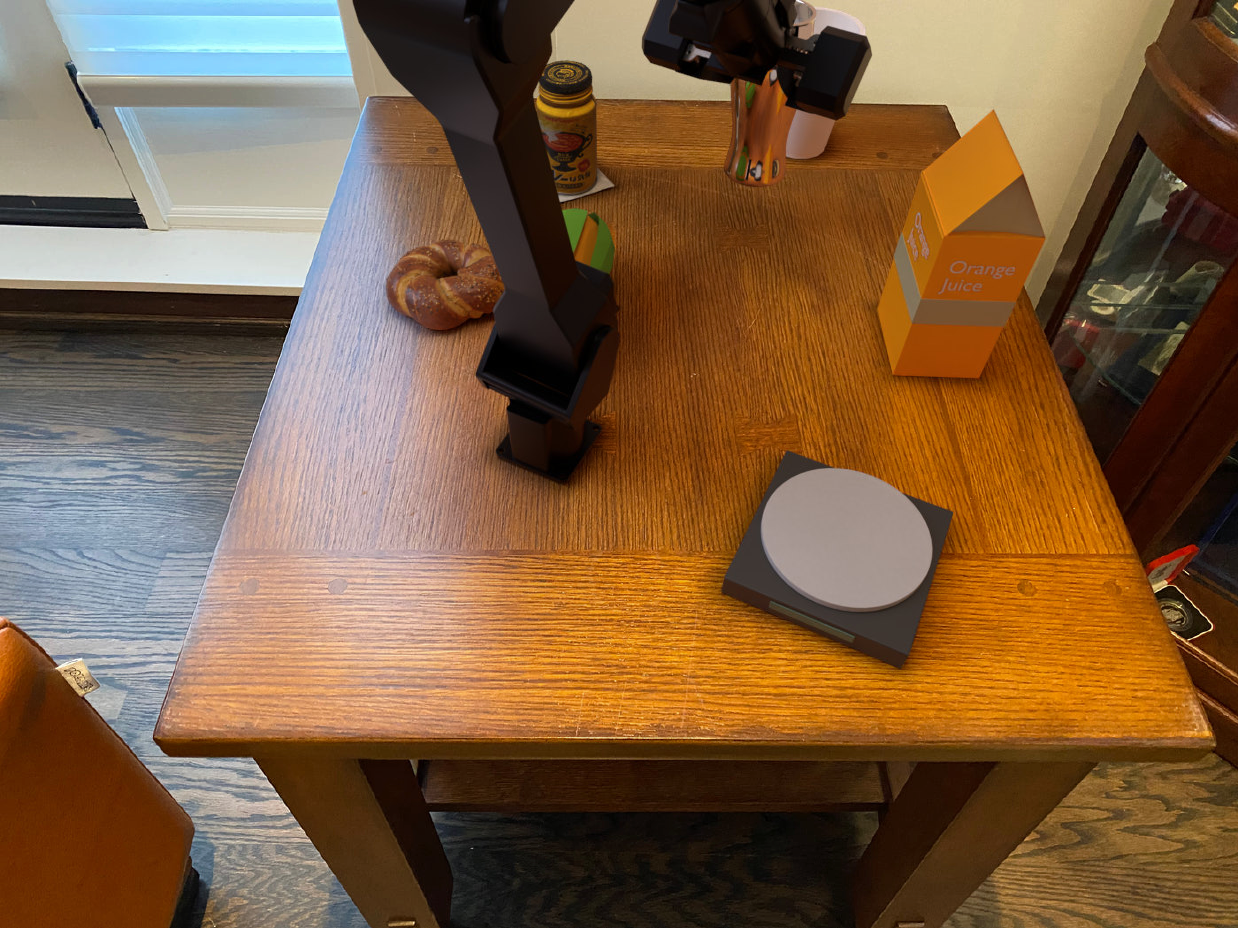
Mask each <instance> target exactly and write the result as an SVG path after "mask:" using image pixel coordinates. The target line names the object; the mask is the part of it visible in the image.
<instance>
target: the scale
mask: <svg viewBox="0 0 1238 928" xmlns="http://www.w3.org/2000/svg"><path fill="white" fill-rule="evenodd" d="M953 516H954V511H953V510H950V509H947V508H944V507H942V506H939V505H937V504H934V503H931V502H928V501H925V500H923V499H920V498H917V497H914V496H912V495H909V494H906V493H904V492H902V491H900V490H899V489H897V488H896V487H894V486H893V485H891V483H888V482H886V481H884V480H882V479H880V478H878V477H876V476H873V475H871V474H868V473H865V472H862V471H858V470H853V469H848V468H840V467H834V466H831V465H829V464H825V463H824V462H820V461H817V460H816V459H812V458H809V457H807V456H804V455H801V454H799V453H796V452H793V451H792V450H791V451H790V450H785V453H784V454H783V457H782V458H781V461H780V462H779V465H778V467H777V469H776V471H775V473H774V475H773V477H772V479H771V481H770V483H769V485H768V487H767V489H766V491H765V493H764V495H763V497H762V500H761V501H760V503H759V505H758V507H757V509H756V512H755V514H754V515H753V518H752V520H751V522H750V524H749V525H748V527H747V530H746V532H745V533H744V536H743V538H742V540H741V542H740V544H739V545H738V548H737V550H736V551H735V554H734V556H733V558H732V560H731V562H730V564H729V566H728V568H727V571H726V572H725V574H724V576H723V579H722V585H721V589H720V592H721V594H724V595H727V596H728V597H731V598H733V599H736V600H738V601H741V602H743V603H746V604H748V605H749V606H753V607H755V608H757V609H759V610H762V611H764V612H766V613H769V614H771V615H773V616H776V617H778V618H780V619H782V620H785V621H788V622H790V623H792V624H795V625H797V626H800V627H802V628H804V629H806V630H809V631H811V632H813V633H815V634H817V635H820V636H823V637H825V638H827V639H829V640H831V641H835V642H836V643H839V644H841V645H844V646H846V647H849V648H850V649H853V650H854V651H855V650H856V651H858V652H860V653H863V654H864V655H868V656H869V657H871V658H874V659H877V660H879V661H881V662H883V663H886V664H888V665H890V666H892V667H895V668H898V669H902V668H903V667H904V665H905V663H906V662H907V659H909V656H910V655H911V652H912V651H911V650H912V648H913V644H914V642H915V638H916V634H917V632H918V629H919V626H920V622H921V619H922V615H923V612H924V610H925V606H926V603H927V600H928V596H929V593H930V590H931V587H932V583H933V580H934V577H935V573H936V571H937V567H938V564H939V561H940V558H941V554H942V552H943V548H944V545H945V542H946V539H947V536H948V532H949V529H950V525H951V523H952V519H953Z"/></svg>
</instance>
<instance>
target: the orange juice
mask: <svg viewBox="0 0 1238 928" xmlns="http://www.w3.org/2000/svg"><path fill="white" fill-rule="evenodd" d="M1043 228H1044V227H1043V226H1042V223H1041V220H1040V217H1039V214H1038V211H1037V207H1036V205H1035V202H1034V200H1033V197H1032V193H1031V191H1030V187H1029V185H1028V181H1027V179H1026V176H1025V173H1024V171H1023V169H1022V166H1021V164H1020V162H1019V159H1018V157H1017V156H1016V153H1015V151H1014V149H1013V146H1012V145H1011V143H1010V141H1009V138H1008V137H1007V135H1006V132H1005V130H1004V128H1003V125H1002V123H1001V121H1000V119H999V117H998V115H997V113H996V110H995V108H994V107H993V109H992V110H991V111H990V112H988V113H987V114H986V115H985V116H983V118H982V119H980V120H979V121H978V122H977V123H976V124H975V125H974V126H973V127H972V128H970V129H969V130H968V131H967V132H966V133H964V135H962V136H961V137H960V138H959V139H958V140H957V141H955V142H954V144H952V145H951V146H950V147H949V148H948V149H947V150H946V151H944V152H943V153H942V154H941V155H940V156H938V157H937V158H936V159H935V160H934V161H933V162H932V163H931V164H930V165H928V166H927V167H926V168H925V169H922V170H921V172H920V176H919V179H918V182H917V185H916V189H915V192H914V194H913V198H912V201H911V203H910V206H909V210H908V213H907V215H906V219H905V222H904V225H903V228H902V231H901V232H900V235H899V239H898V242H897V244H896V248H895V250H894V253H893V260H892V263H891V265H890V269H889V271H888V275H887V278H886V280H885V284H884V287H883V290H882V293H881V296H880V298H879V302H878V305H877V308H876V311H877V315H878V319H879V323H880V329H881V332H882V336H883V340H884V344H885V349H886V353H887V357H888V360H889V366H890V370H891V374H892V376H898V377H899V376H901V377H903V376H904V377H929V378H930V377H931V378H959V379H980V377H981V375H982V373H983V371H984V369H985V367H986V364H987V363H988V361H989V358H990V356H991V354H992V352H993V350H994V348H995V346H996V344H997V342H998V340H999V337H1000V336H1001V333H1002V331H1003V329H1004V328H1005V327H1006V324H1007V323H1008V321H1009V318H1010V317H1011V314H1012V313H1013V310H1014V308H1015V306H1016V304H1017V300H1018V298H1019V296H1020V294H1021V292H1022V289H1023V288H1024V286H1025V283H1026V281H1027V279H1028V278H1029V275H1030V273H1031V271H1032V270H1033V267H1034V264H1035V263H1036V261H1037V259H1038V256H1039V254H1040V252H1041V250H1042V248H1043V246H1044V244H1045V242H1046V241H1047V237H1046V234H1045V231H1044V229H1043Z"/></svg>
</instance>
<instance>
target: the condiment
mask: <svg viewBox="0 0 1238 928" xmlns="http://www.w3.org/2000/svg"><path fill="white" fill-rule="evenodd" d="M593 92H594V87H593V74H592V71H591V69H590V68H589V66H587V65H586V64H585V63H582V62H580V61H575V60H569V59H568V60H567V59H566V60H557V61H552V62H550V63H547V65H546V68H545V70H544V72H543V74H542V76H541V78H540V80H539V83H538V96H537V98H536V101H535V108H536V112H537V115H538V119H539V123H540V127H541V131H542V135H543V138H544V142H545V146H546V150H547V154H548V158H549V161H550V165H551V169H552V173H553V177H554V181H555V185H556V188H557V192H558V196H559V200H560V203H562V202H567V201H571V200H574V199H578V198H582V197H584V196H587V195H590V194H591V195H592V194H595V193H597V192H600V191H602V190H605V189H609V188H613V187H615V184H614V183H613V182H612V181H611V180H610V179H609V178H608V177H607V176H606V175H605V174H604V173H603V172H602V171H601V169H599V167H598V136H597V135H598V132H597V129H598V127H597V125H598V124H597V103H598V102H597V100H596V97H595V95H594V94H593Z"/></svg>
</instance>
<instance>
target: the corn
mask: <svg viewBox="0 0 1238 928" xmlns="http://www.w3.org/2000/svg"><path fill="white" fill-rule="evenodd" d="M562 211H563V215H564V219H565V223H566V227H567V231H568V234H569V238H570V242H571V246H572V250H573V254H574V257H575V260H576V261H579V262H581V263H584V264H586V265H589V266H591V267H594V268H596V269H599V270H601V271H604V272H606V273H608V274H609V275H610V273H611V271H612V269H613V266H614V257H615V253H616V246H615V242H614V239H613V237H612V233H611V230H610V227H609V225H608V224H607V222H605V221H604V220H603V218H601V216H600V215H599V214H598V213H596V212H595V211H593V212H591V213H588V210H587V209H582V208H577V207H572V208H567V209H562Z"/></svg>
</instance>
